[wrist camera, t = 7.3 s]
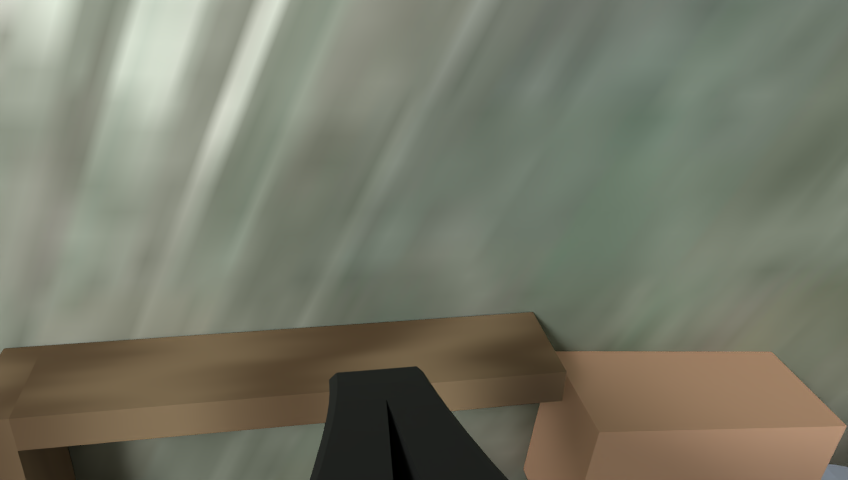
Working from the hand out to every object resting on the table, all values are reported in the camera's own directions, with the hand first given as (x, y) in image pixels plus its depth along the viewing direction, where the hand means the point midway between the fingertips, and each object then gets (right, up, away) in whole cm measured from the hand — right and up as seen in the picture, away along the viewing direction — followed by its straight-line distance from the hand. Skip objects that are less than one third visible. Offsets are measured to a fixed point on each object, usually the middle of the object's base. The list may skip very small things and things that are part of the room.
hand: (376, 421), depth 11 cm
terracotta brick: (+8, -3, +14) cm, 17 cm away
